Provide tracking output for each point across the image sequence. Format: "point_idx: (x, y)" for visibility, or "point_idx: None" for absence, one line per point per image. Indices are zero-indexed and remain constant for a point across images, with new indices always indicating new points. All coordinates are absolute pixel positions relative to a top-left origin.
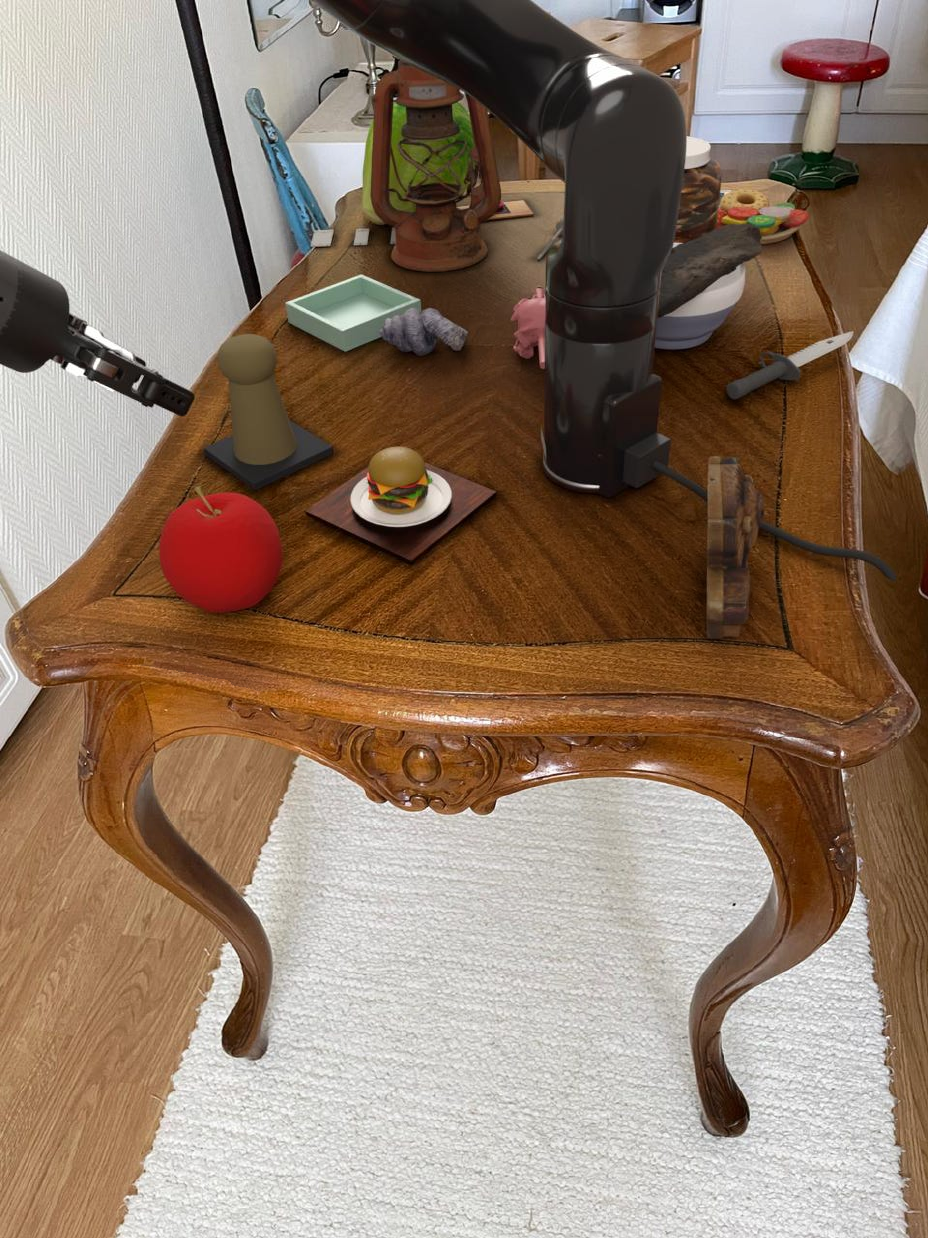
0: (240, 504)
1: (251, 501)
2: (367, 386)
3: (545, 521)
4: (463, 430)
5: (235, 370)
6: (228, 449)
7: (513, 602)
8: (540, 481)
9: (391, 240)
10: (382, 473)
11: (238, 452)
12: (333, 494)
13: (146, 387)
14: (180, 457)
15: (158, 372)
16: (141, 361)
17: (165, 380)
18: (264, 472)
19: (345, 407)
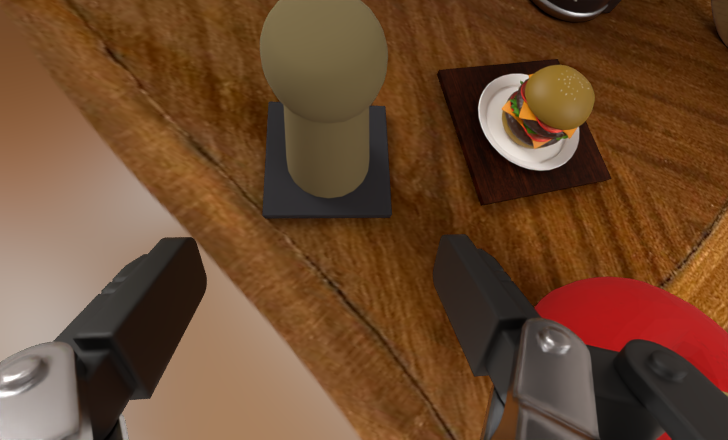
0: (708, 331)
1: (676, 304)
2: None
3: (607, 64)
4: (437, 7)
5: (363, 102)
6: (294, 193)
7: (690, 154)
8: (554, 26)
9: None
10: (580, 117)
11: (329, 193)
12: (475, 163)
13: (661, 431)
14: (242, 245)
15: (556, 328)
16: (185, 246)
17: (671, 351)
18: (378, 191)
19: None
